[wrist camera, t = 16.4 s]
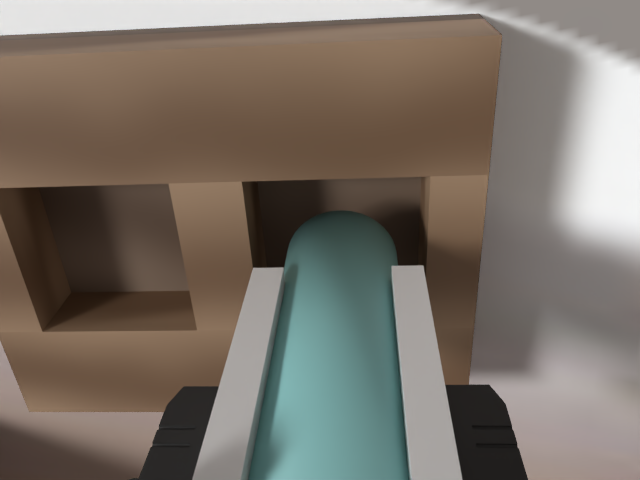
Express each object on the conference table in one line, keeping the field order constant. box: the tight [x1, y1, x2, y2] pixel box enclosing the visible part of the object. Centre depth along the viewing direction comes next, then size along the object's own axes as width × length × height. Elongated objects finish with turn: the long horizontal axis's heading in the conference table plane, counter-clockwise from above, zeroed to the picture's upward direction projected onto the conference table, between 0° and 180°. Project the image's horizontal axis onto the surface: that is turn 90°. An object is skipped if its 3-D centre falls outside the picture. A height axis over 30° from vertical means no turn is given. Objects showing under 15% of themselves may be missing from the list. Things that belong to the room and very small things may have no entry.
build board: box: [0, 14, 502, 412], centre depth 18 cm, size 12×15×3 cm
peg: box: [248, 210, 409, 480], centre depth 13 cm, size 3×3×10 cm
